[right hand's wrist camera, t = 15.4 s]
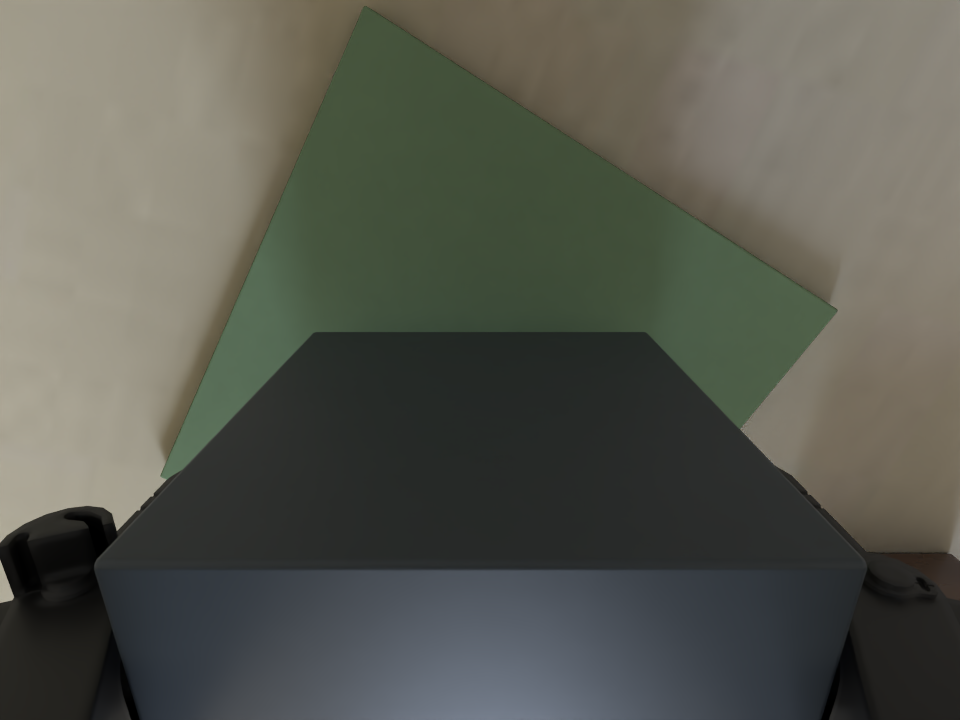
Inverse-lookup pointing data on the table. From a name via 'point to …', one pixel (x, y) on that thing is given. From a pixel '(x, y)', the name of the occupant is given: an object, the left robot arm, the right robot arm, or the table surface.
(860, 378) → the table surface
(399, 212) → the green mat
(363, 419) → the slate block
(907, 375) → the table surface
